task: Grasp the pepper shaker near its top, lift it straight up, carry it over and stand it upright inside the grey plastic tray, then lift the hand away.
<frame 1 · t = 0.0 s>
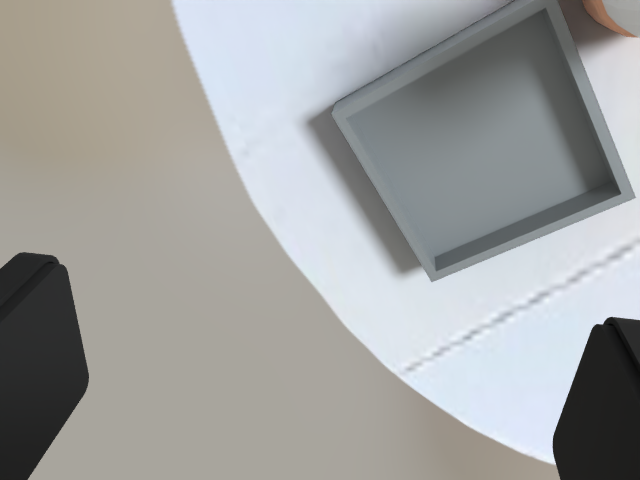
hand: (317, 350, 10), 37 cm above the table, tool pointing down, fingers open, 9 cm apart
tray: (479, 141, 46), on the table
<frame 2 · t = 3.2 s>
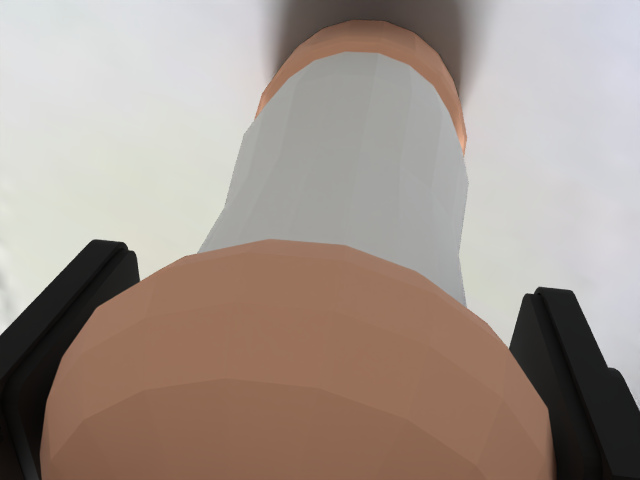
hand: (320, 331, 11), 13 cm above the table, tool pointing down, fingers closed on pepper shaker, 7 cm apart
pepper shaker: (363, 115, 22), on the table, touching gripper
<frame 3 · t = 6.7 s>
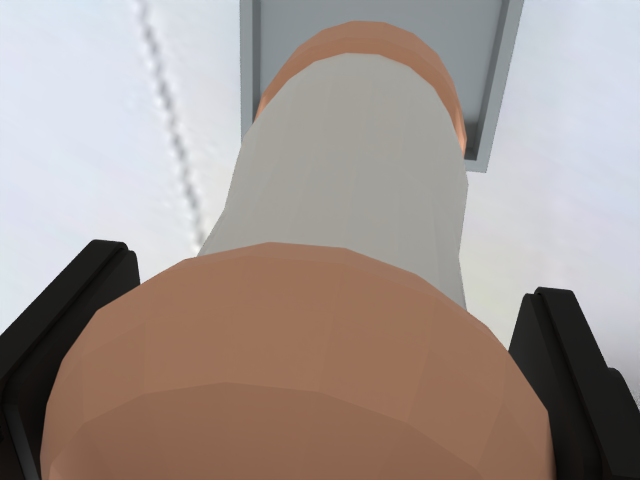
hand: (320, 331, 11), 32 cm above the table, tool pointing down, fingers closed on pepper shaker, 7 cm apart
pepper shaker: (363, 116, 22), point 18 cm above the table, touching gripper
tray: (376, 23, 38), on the table
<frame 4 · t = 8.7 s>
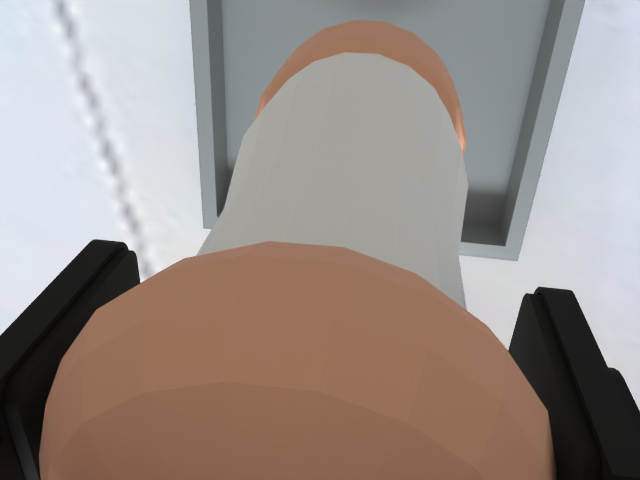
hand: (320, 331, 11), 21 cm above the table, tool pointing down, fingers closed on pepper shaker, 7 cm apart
pepper shaker: (362, 116, 22), point 8 cm above the table, touching gripper
tray: (374, 70, 29), on the table
when the fingers open (15 cm above the table, at t = 10.5 s): pepper shaker drops 1 cm, resting on tray.
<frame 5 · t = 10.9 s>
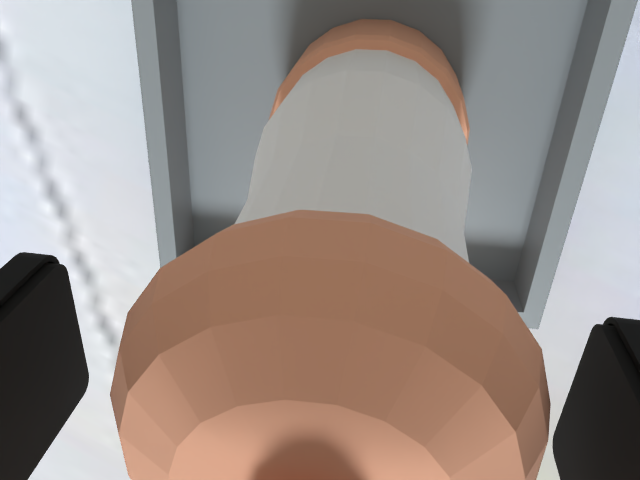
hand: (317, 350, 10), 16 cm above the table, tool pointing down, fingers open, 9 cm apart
pepper shaker: (371, 110, 24), point 1 cm above the table, touching tray
tray: (365, 101, 24), on the table
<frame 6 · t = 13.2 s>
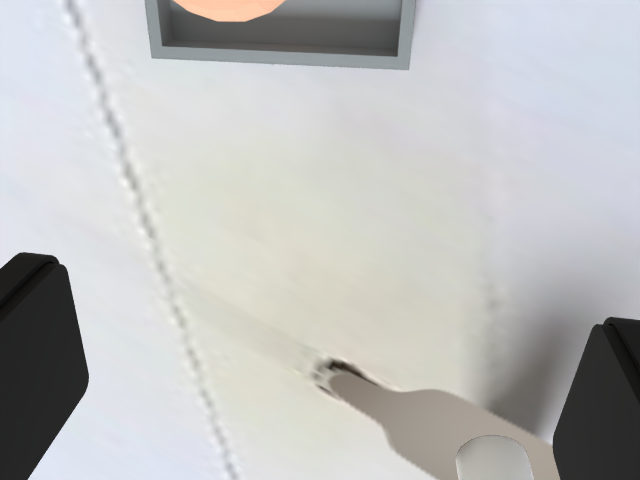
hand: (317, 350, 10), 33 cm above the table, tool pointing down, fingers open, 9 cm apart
cylindrical container: (491, 457, 58), on the table
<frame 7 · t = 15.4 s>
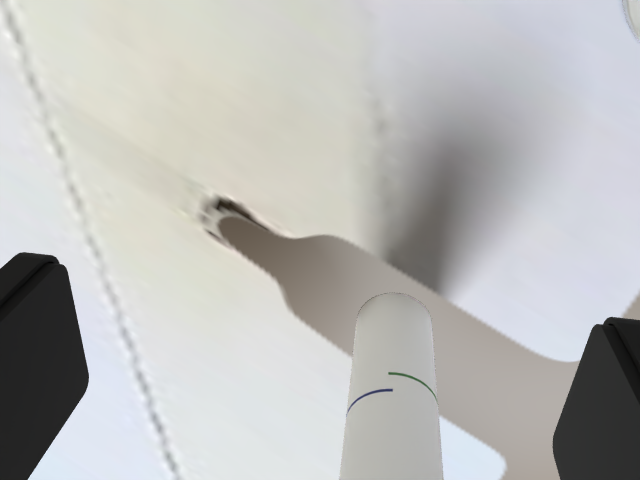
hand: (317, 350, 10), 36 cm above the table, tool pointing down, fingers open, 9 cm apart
cylindrical container: (393, 322, 55), on the table
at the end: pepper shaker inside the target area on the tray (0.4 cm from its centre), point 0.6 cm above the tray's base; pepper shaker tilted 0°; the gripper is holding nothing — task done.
